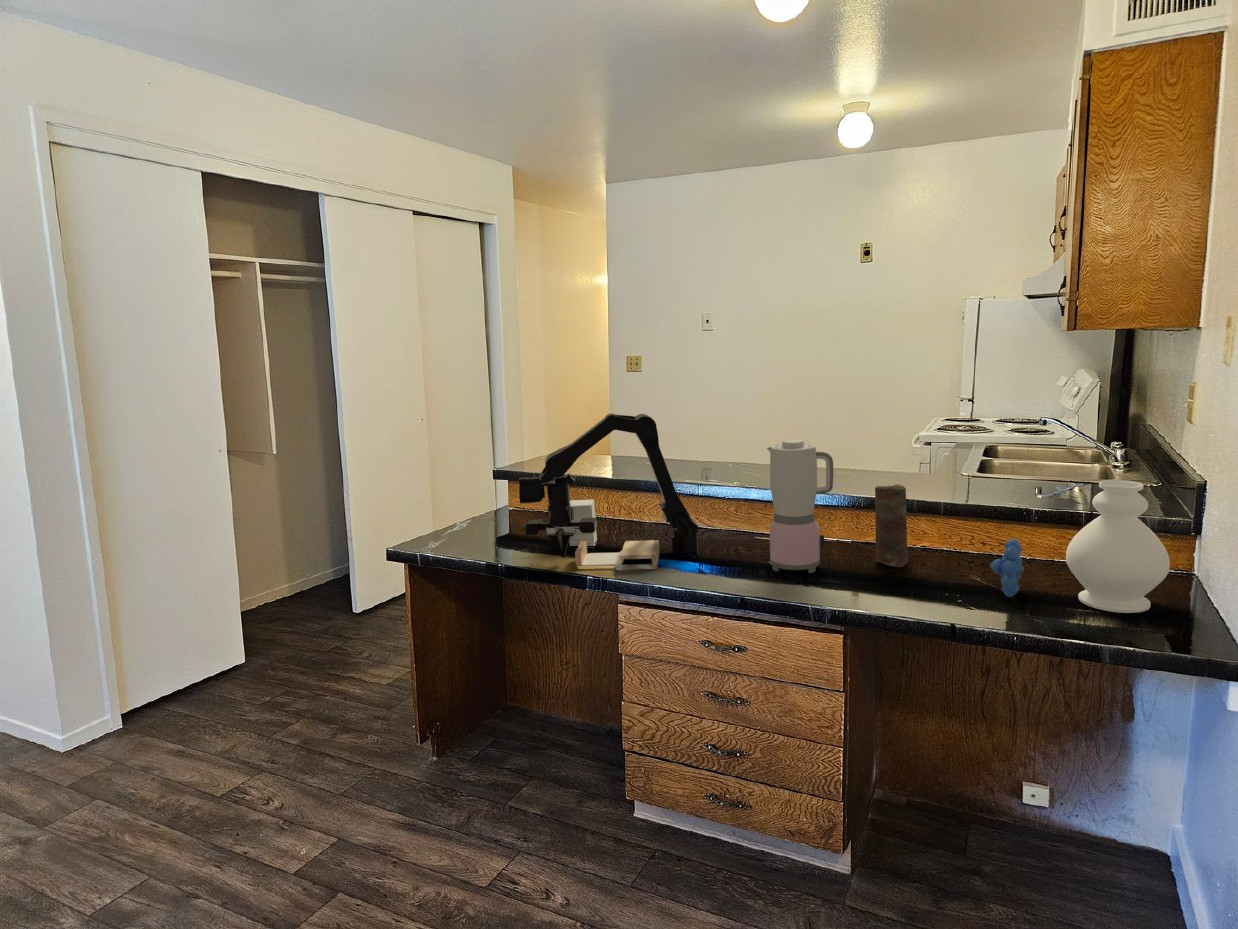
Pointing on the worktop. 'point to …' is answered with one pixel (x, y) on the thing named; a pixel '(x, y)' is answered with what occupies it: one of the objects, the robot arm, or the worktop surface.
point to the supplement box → (580, 511)
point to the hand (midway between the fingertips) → (563, 557)
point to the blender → (796, 505)
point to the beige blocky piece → (596, 557)
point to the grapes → (1009, 567)
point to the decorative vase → (1118, 552)
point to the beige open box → (640, 553)
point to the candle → (891, 525)
